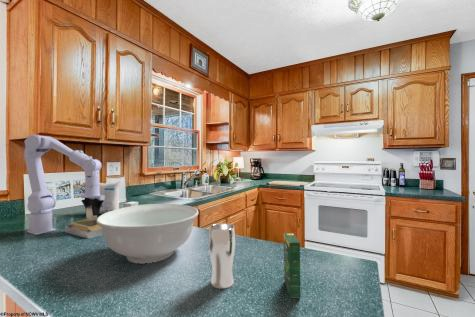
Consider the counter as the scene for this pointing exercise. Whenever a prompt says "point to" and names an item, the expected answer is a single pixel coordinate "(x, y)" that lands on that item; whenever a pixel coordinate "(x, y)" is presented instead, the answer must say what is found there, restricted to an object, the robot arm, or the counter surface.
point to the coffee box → (292, 265)
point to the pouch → (110, 196)
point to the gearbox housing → (84, 229)
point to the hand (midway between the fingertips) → (92, 214)
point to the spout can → (90, 214)
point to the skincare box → (130, 204)
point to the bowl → (147, 230)
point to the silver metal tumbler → (222, 254)
